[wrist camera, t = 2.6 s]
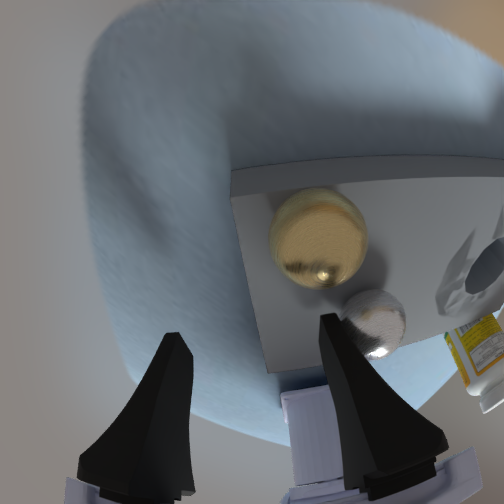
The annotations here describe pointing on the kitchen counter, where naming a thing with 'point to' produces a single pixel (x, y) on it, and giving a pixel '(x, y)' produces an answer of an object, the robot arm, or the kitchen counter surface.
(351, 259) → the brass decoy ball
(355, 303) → the steel ball
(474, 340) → the supplement bottle
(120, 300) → the kitchen counter surface
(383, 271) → the plate
